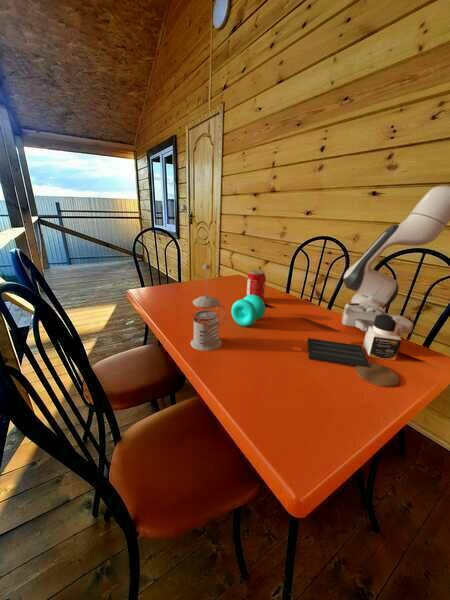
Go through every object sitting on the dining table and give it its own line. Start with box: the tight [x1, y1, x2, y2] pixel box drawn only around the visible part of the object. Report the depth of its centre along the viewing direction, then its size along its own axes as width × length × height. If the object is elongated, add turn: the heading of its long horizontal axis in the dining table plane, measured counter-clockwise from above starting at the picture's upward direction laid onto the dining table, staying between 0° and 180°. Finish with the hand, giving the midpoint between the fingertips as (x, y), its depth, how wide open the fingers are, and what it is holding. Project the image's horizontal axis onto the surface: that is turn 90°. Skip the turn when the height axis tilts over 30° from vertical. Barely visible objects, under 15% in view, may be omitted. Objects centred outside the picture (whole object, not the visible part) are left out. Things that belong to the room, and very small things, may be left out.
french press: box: [190, 263, 227, 352], centre depth 76 cm, size 10×12×25 cm
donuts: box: [230, 295, 266, 327], centre depth 94 cm, size 10×10×10 cm
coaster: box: [354, 362, 400, 388], centre depth 67 cm, size 10×10×1 cm
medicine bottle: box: [362, 313, 402, 361], centre depth 75 cm, size 7×7×12 cm
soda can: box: [245, 269, 267, 303], centre depth 112 cm, size 8×8×15 cm
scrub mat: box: [307, 337, 371, 368], centre depth 76 cm, size 16×12×1 cm
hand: (381, 331), depth 77 cm, fingers open, 8 cm apart
